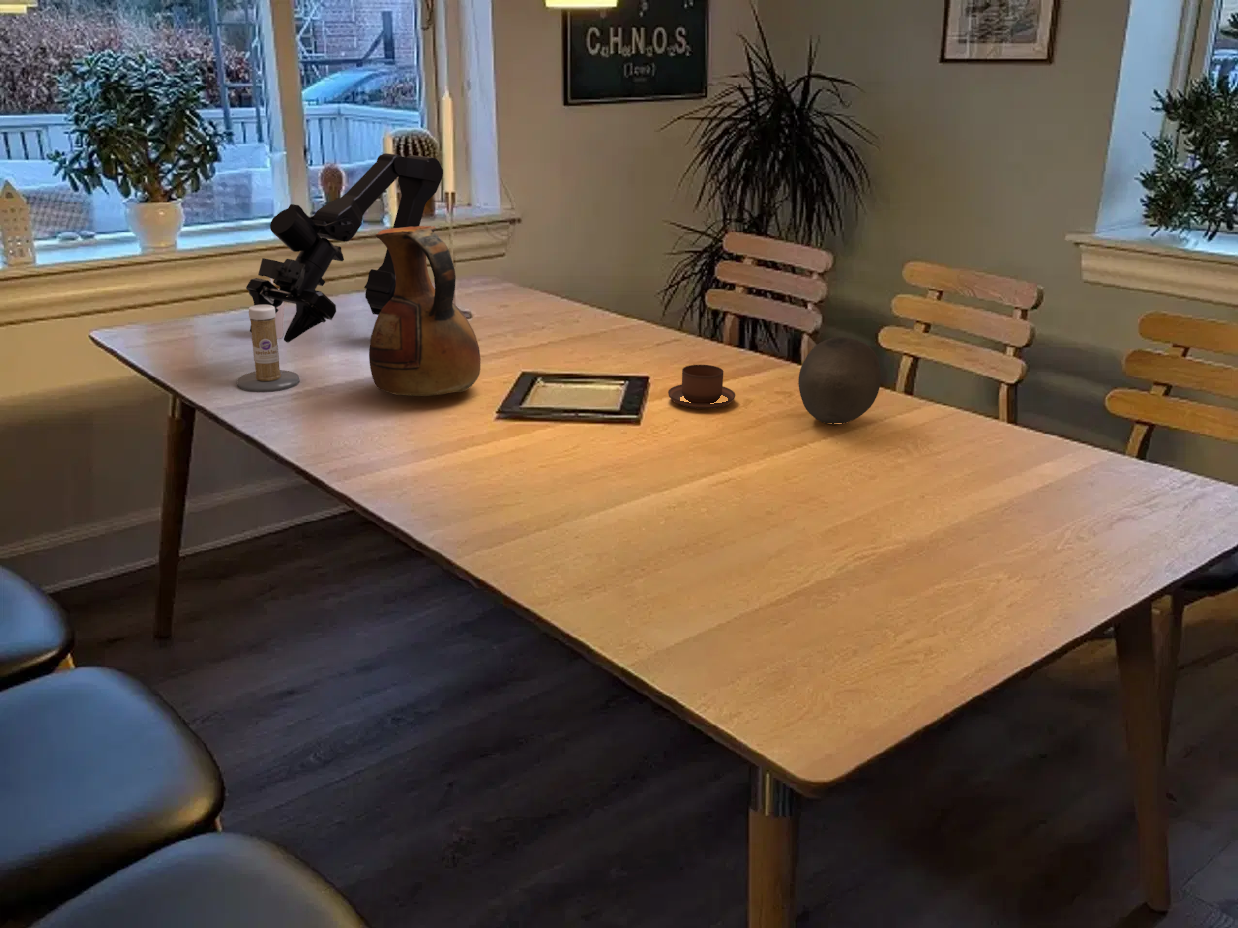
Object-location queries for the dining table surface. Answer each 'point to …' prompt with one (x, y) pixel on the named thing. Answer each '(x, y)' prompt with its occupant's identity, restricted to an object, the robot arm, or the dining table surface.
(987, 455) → the dining table surface
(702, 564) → the dining table surface
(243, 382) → the slate gray plate
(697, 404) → the cup and saucer
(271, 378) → the sprinkles bottle
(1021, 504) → the dining table surface
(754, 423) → the dining table surface
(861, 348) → the dark charcoal ball
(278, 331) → the smoothie
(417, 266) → the ceramic pitcher
